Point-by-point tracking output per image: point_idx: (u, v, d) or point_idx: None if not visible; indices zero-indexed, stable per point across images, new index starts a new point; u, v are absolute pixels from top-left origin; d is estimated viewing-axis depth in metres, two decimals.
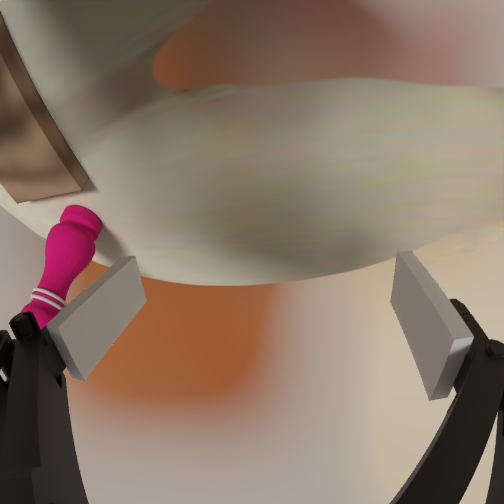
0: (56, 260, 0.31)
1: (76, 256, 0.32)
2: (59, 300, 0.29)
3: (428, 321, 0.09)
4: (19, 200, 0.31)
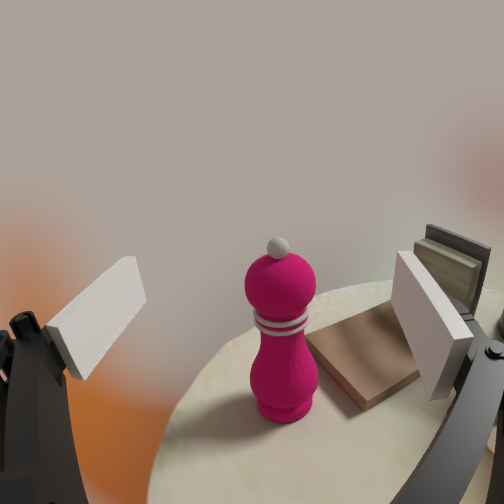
0: (308, 351, 0.28)
1: (304, 377, 0.26)
2: (297, 329, 0.25)
3: (428, 321, 0.09)
4: (311, 338, 0.39)
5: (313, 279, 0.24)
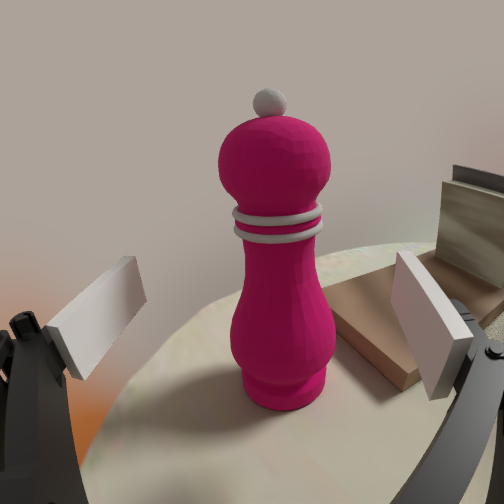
0: (320, 289, 0.18)
1: (316, 329, 0.17)
2: (303, 232, 0.15)
3: (428, 321, 0.09)
4: None
5: (326, 148, 0.14)
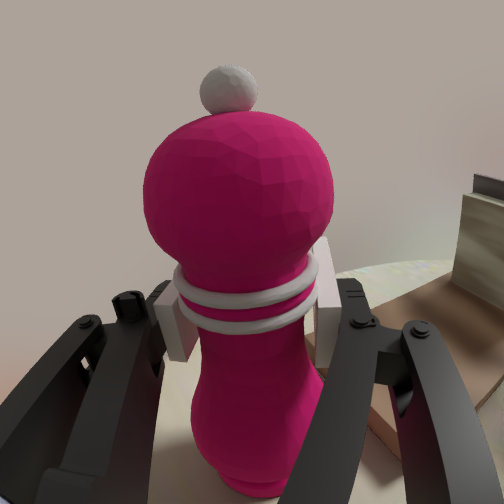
0: (312, 371, 0.12)
1: (302, 430, 0.11)
2: (284, 315, 0.09)
3: None
4: None
5: (327, 167, 0.08)
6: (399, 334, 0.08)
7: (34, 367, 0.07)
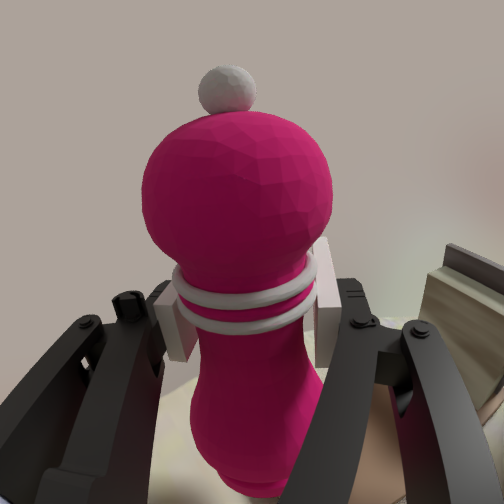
0: (311, 372, 0.12)
1: (302, 431, 0.11)
2: (283, 316, 0.09)
3: None
4: None
5: (326, 167, 0.08)
6: (399, 334, 0.08)
7: (34, 367, 0.07)
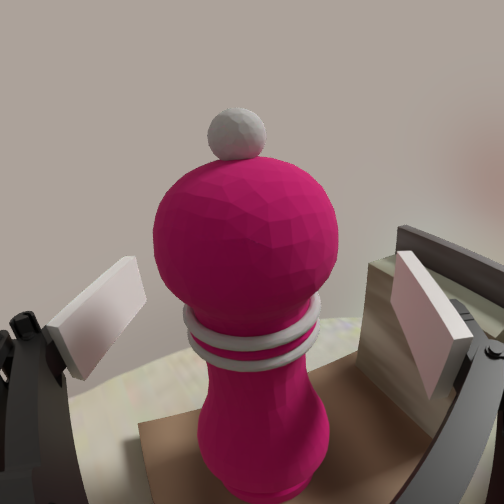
0: (312, 394, 0.12)
1: (302, 448, 0.11)
2: (288, 354, 0.09)
3: (428, 321, 0.09)
4: (144, 433, 0.19)
5: (333, 218, 0.09)
6: None
7: None
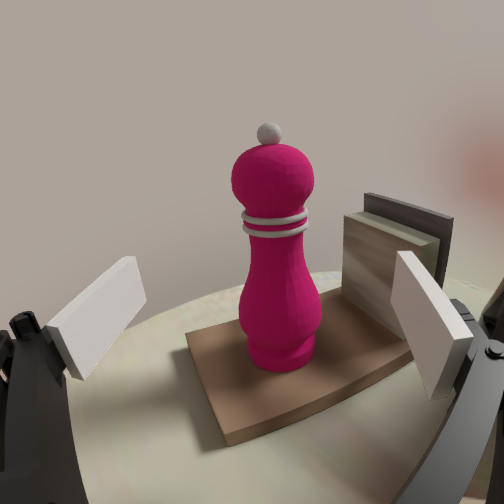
0: (308, 272, 0.24)
1: (304, 302, 0.23)
2: (294, 229, 0.21)
3: (428, 321, 0.09)
4: (191, 338, 0.30)
5: (310, 168, 0.20)
6: None
7: None
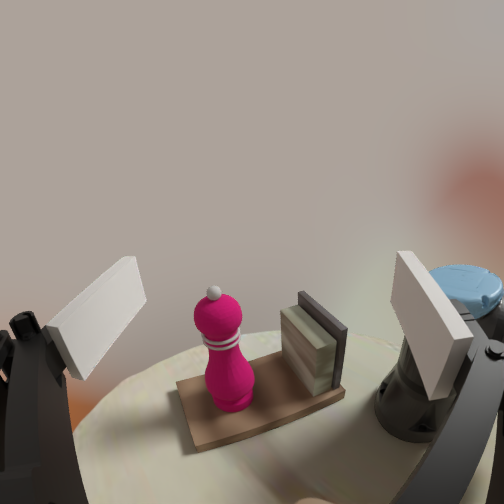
0: (243, 361, 0.39)
1: (239, 379, 0.38)
2: (229, 346, 0.36)
3: (428, 321, 0.09)
4: (179, 385, 0.45)
5: (238, 314, 0.35)
6: None
7: None
